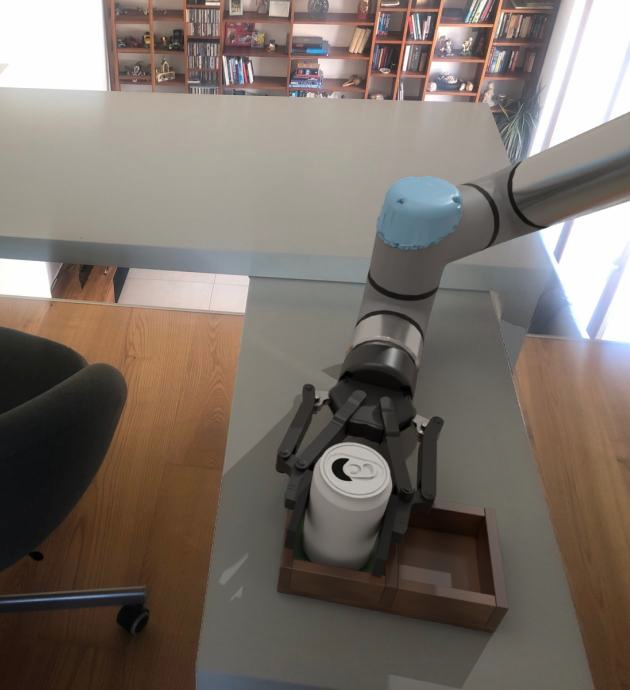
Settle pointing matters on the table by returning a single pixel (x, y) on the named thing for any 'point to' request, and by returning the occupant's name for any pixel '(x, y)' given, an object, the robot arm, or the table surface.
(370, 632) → the table surface
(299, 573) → the wooden compartment tray
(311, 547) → the beverage can
